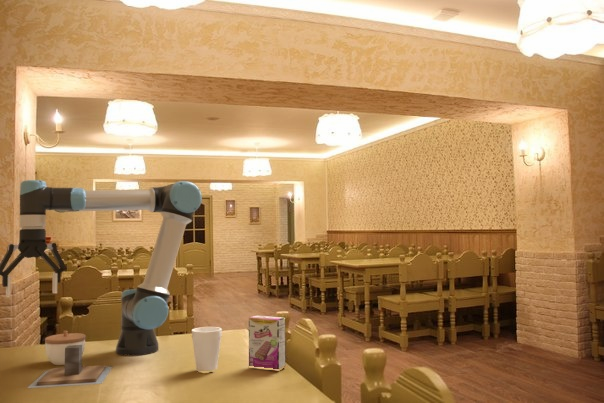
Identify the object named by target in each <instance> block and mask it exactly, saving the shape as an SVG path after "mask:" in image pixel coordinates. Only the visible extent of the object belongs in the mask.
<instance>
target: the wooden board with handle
mask: <svg viewBox="0 0 604 403" xmlns="http://www.w3.org/2000/svg"><path fill="white" fill-rule="evenodd" d="M105 367H107V366H106V365H105V364H103V365H101V364H100V365H86V366H83V354H82V345H68V346H67V347H66V348H65V365H64V367H54V368H52V367H51V369H49V370H50V371H49V372H48V373H46V374H45V375H44V376H43V377H42V378H41V379H40V380H39V381H38V382H37V386H40V385H56V384H72V383H88V382H96V381H97V380H98V378H99V377H100V375H101V374H102V373H103V371H104V370H105Z"/></svg>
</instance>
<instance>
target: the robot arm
mask: <svg viewBox="0 0 604 403" xmlns="http://www.w3.org/2000/svg"><path fill="white" fill-rule="evenodd" d="M202 195H203V194H202V193H201V190H200V189H199V187H198V186H197V185H196V184H195V183H193V182H191V181H187V180H185V181H184V180H178V181H177V182H174V183H171V184H167V185H164V186H156V187H155V186H154V187H150V188H148V189H136V190H135V189H132V190H131V189H129V190H128V189H123V190H122V189H121V190H118V189H117V190H114V189H113V190H112V189H111V190H110V189H109V190H107V189H103V190H101V189H100V190H94V189H93V190H85V189H84V188H82V187H75V186H74V187H51V186H47V182H46V181H44V180H38V179H37V180H36V179H26V180H22V181H21V183H20V186H19V228H21V229H19V233H18V234H19V239H18V240H19V241H18V242H19V243H18V244H14V243H9V244H8V245H7V249H6V250H7V251H6V253H5V254H4V256H3V258H2V260H1V261H0V276H1V278H2V279H1V280H2V282H1V283H2V284H1V285H2V287H5V298H8V299H9V298H11V296H12V295H11V294H12V292H11V289H12V288H11V284H12V282H11V281H12V276H10V274H11V273H12V271H13V270H14V269H15V268H16V267H17V266H18V265H19V264H20V262H22V260H23V259H25V258H26V259H27V258H28V259H29V258H30V259H31V258H41V259H43V261H44V262H45V263H46V264H47V265H48V266H49V267H50V268H51V269H52V270H53V271H54V272H53V273H52V281H51V282H52V283H51V284H52V285H51V286H52V294H58V284H59V283H61V273H62V272H64V271H67V269H68V268H67V266H66V265H65V262H64V260H63V258H62V256H61V255H60V253H59V251H58V248H57V247H58V246H57V243H56V242H52V243H47V238H46V237H47V236H46V234H47V233H46V232H47V230H46V229H45V228H46V227H47V225H46V224H47V217H46V216H47V215H46V214H47V211H55V212H56V213H68V212H69V213H71V212H101V211H103V212H105V211H108V212H109V211H111V212H112V211H113V212H114V211H149V212H150V213H160V214H161V216H162V221H161V225H160V227H159V231H158V235H157V236H156V237H157V238H156V240H155V244H154V247H153V250H152V254H151V257H150V260H149V263H148V266H147V269H146V272H145V276H144V280H143V282H142V283H140V284H138V285H137V288H135V289H125V290H123V291H122V292H121V298H120V301H121V315H120V316H121V319H120V322H121V324H120V325H121V328H120V330H121V331H120V334H119V338H118V340H117V343H116V346H115V353H116V354H117V355H119V356H120V355H121V356H142V355H148V354H151V353H152V354H153V353H156V352H158V351H159V341H158V339H157V335H156V331H155V329H157V328H159V327H161V326H162V325H163V324H164V323H165V322H166V320H167V319H168V315H169V307H168V303H169V298H170V295H171V294H170V290H169V289H168V287H169V284H170V280H171V276H172V273H173V271H174V268H175V264H176V260H177V258H178V254H179V249H180V246H181V243H182V240H183V236H184V235H185V234H184V233H185V230H186V227H187V225H188V224H190V223H191V222H193V219H194V218H193V217H194V214H195V212H196V211H197V210H198V209H199V208H200V206H201V204H202V201H203V200H202V198H203V196H202ZM47 248H48V250H49V251H51V253H52V256H53V257H54V259H55V261H56V263H57V265H56V263H55V262H54V261H53V260H52V259H51V258H50V257H49V255H48V254H47V253H46V252H45V251H46V249H47ZM16 250H18V251H19V254H18V255H17V256H16V258H14V259H13V261H12V262H11V263H10V264H9V265H8V266H7V264H8V262H9V261H10V259H11V257H12V255H13V252H16ZM6 266H7V267H6ZM5 267H6V268H5ZM4 269H5V270H4Z"/></svg>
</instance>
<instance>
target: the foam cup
mask: <svg viewBox="0 0 604 403" xmlns="http://www.w3.org/2000/svg"><path fill="white" fill-rule="evenodd" d="M222 332H223V329H222V327H219V326H218V327H217V326H202V327H196V328H192V329H191V338H192V344H193V351H194V352H193V353H194V361H195V368H196V369H195V370H196V372H197V371H212V370H215V369H217V370H218V363H219V355H220V350H221V349H220V348H221V340H222V337H223V336H222V335H223V333H222Z"/></svg>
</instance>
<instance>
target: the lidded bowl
mask: <svg viewBox="0 0 604 403" xmlns="http://www.w3.org/2000/svg"><path fill="white" fill-rule="evenodd" d="M68 332H69V331H68V330H63V333H59V334H53V335H49V336H47V337H45V338H44V343H45V344H44V346H45V347H44V348H45V354H46V357H47V359H48V361H49V362H50V363H51V364H52V365H54V366H55V365H56V366H65V348H66V347H67V346H68V345H82V355H83V354H84V351H85V349H86V348H85V347H86V336H87V335H86V334H84V333H80V332H79V333H77V332H75V333H73V332H71V333H68Z"/></svg>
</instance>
